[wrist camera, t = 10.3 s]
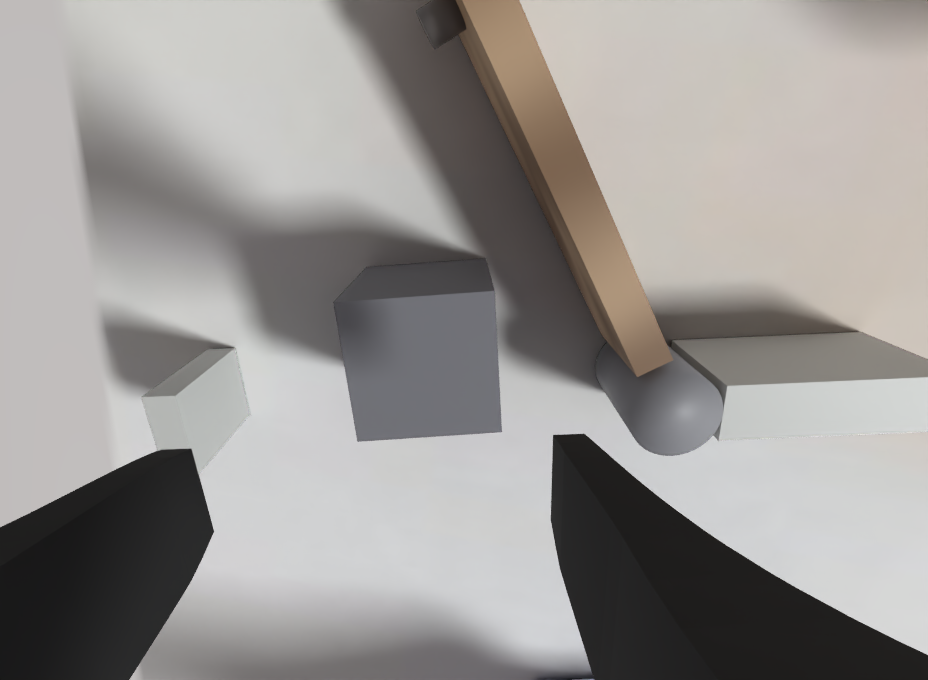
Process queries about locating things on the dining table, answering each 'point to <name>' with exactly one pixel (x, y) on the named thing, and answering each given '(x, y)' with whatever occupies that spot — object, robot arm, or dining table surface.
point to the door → (554, 168)
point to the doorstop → (421, 350)
